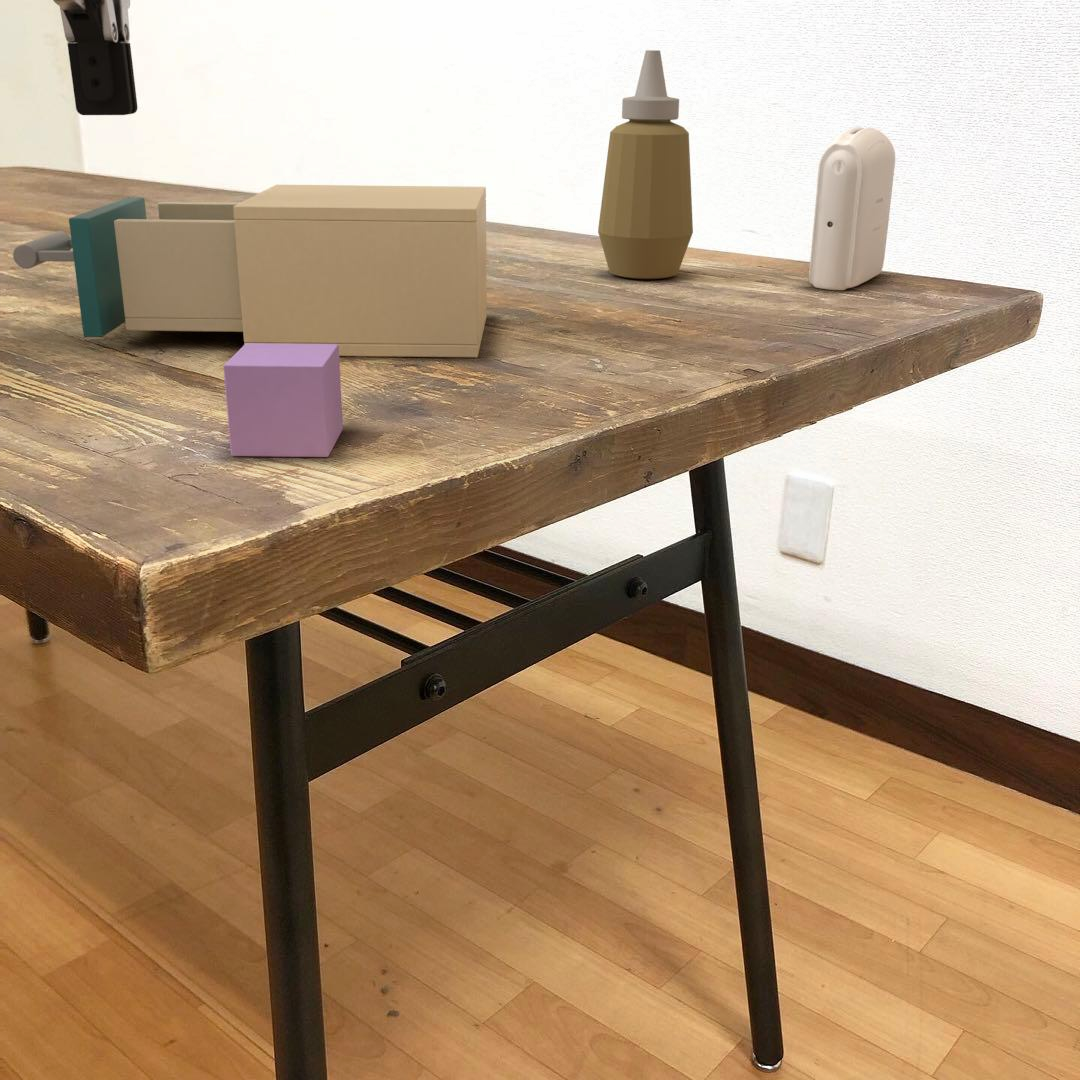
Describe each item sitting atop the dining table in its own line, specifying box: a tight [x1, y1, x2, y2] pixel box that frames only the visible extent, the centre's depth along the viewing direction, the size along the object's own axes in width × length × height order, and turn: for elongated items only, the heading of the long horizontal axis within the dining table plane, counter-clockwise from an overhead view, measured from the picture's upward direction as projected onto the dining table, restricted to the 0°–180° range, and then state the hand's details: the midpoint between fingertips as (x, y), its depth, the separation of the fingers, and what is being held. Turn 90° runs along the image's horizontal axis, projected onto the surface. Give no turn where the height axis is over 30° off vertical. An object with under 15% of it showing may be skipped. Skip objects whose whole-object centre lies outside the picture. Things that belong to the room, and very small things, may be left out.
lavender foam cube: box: [223, 343, 344, 458], centre depth 60 cm, size 5×5×4 cm
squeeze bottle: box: [597, 49, 694, 280], centre depth 103 cm, size 8×8×18 cm
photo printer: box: [808, 126, 896, 291], centre depth 102 cm, size 10×4×12 cm, turn 149°
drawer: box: [12, 196, 243, 338], centre depth 81 cm, size 18×11×7 cm, turn 90°
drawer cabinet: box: [233, 184, 488, 358], centre depth 81 cm, size 15×13×9 cm
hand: (107, 113), depth 74 cm, fingers closed
